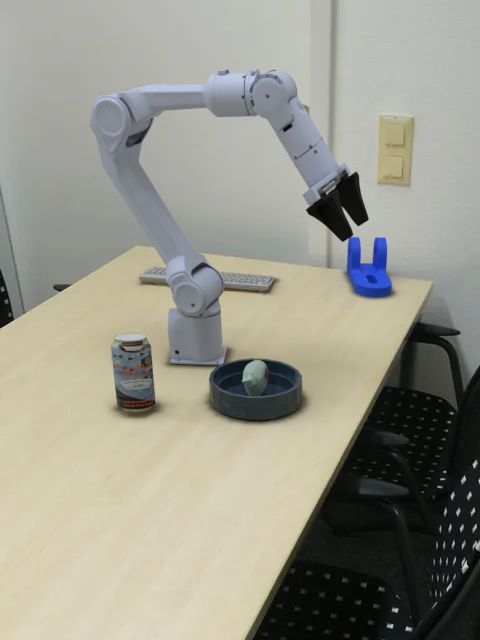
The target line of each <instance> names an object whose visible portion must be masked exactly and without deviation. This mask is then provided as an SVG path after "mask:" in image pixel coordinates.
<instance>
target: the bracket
mask: <svg viewBox="0 0 480 640" xmlns="http://www.w3.org/2000/svg"><path fill="white" fill-rule="evenodd" d="M373 241H374V242H373V249H372V263H371V262H370V263H368V262H362V263H361V259H362V258H361V257H362V247H361V246H362V245H361V238H360V237H359V236H352V237H350V238H349V239H347V254H346V255H347V257H346V274H347V276H348V279H349V281H350V283H351V286H352V287H353V290H354V292H355V293H356V294H357V295H359V296H362V297H366V298H386V297H388V296H390V295H391V294H392V281H391V280H390V277H389V275H388V273H387V266H388V265H387V263H388V243H387V238H386V237H375V238H374V240H373Z"/></svg>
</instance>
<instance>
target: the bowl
mask: <svg viewBox="0 0 480 640" xmlns="http://www.w3.org/2000/svg"><path fill="white" fill-rule="evenodd" d="M254 360H260V361H262V362H264V363H265V364H266V366H267V368H268V371H269V373H268V382H267V384H266V387H265V389H264V391H263V393H262V394H261V395H260V396H249V395H248V394H247V392H246V389H245V386H244V384H243V383H242V380H243V371H244V369H245V367H246V366H247V364H249V363H250V362H252V361H254ZM208 385H209V399H210V403H211V404H212V407H213V408H215V409H216V410H217V411H218V412H220V413H222V414H223V415H226V416H228V417H232V418H236V419H237V418H238V419H242V420H254V421H255V420H256V421H262V420H272V419H277V418H280V417H284V416H287V415H289V414H291V413H293V412H294V411H296V410H298V408H299V407H300V406H301V405H302V402H303V375H302V374H301V372H300V371H299V369H297V368H296V367H294V366H292V365H291V364H290V363H286V362H283V361H281V360H275V359H270V358H257V357H255V358H254V357H253V358H252V357H250V358H240V359H239V358H238V359H235V360H231V361H227V362H224V363H223V364H222V365H217V366H216V367H215V368H214V369H213V370H212V371H210V374H209V377H208Z"/></svg>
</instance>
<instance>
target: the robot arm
mask: <svg viewBox="0 0 480 640" xmlns="http://www.w3.org/2000/svg"><path fill="white" fill-rule="evenodd" d="M249 71H250V72H231V73H230V69H229V68H220V69H218V70H217V73H212V74H210V76H208V79H207V80H206V82H205V83H204V84H200V83H198V84H197V83H196V84H195V83H190V84H189V83H187V84H186V83H151V84H148V85H144V86H140V87H136V88H135V87H134V88H128V89H125V90H123V91H121V92H116V93H112V94H103V95H100V96H99V97H97V98H96V99H95V100H94V103H93V105H92V108H91V113H90V119H89V127H90V129H91V131H92V132H93V134H94V135H95V139H96V143H97V147H98V153H99V157H100V161H101V165H102V167H103V169H104V171H105V173H106V174H107V176H108V177H109V179H110V180H111V182H112V183H113V185H114V187H115V188H116V190H117V191H118V193H119V195H120V196H121V197H122V199H123V201H124V203H125V204H126V205H127V207H128V209H129V210H130V212H131V213H132V215H133V216H134V218H135V219H136V221H137V223H138V224H139V226H140V228H141V229H142V231H143V232H144V233H145V236H146V237H147V238H148V240H149V241H150V243H151V245H152V246H153V248H154V249H155V250H156V252H157V254H158V255H159V257H160V258H161V260H162V262H163V263H164V265H165V268H166V282H167V283H166V284H167V285H168V287H169V290H170V291H171V295H172V300H173V303H174V305H175V306H176V307H172V308H171V307H170V308H169V309H168V314H167V335H168V344H169V345H168V347H169V355H170V356H169V357H170V359H169V360H170V361H169V363H170V364H171V365H176V364H177V365H197V366H220V365H222V364H224V363H225V359H226V355H227V351H228V347H227V346H226V345H223V328H222V311H221V310H222V307H221V303H220V297H221V296H222V295H223V294H224V291H225V288H224V286H225V284H224V279H223V277H222V275H221V273H220V272H221V271H220V270H218V269H217V268H216V267H214V266H213V265H212V264H211V263H210V262H209V261H208V259H207V258H206V256H205V255H203V253H201V252H199V251H197V250H195V249H193V247H192V246H191V244H190V242H189V241H188V239H187V238H186V236H185V234H184V233H183V231H182V230H181V228H180V226H179V225H178V223H177V221H176V220H175V218H174V216H173V214H172V213H171V211H170V210H169V208H168V207H167V205H166V203H165V202H164V201H163V200H164V199H163V198H162V197H161V195H160V194H159V193H158V191H157V189H156V187H155V186H154V184H153V182H152V181H151V179H150V178H149V176H148V174H147V173H146V171H145V169H144V168H143V166H142V165H141V164H140V155H141V149H142V145H143V142H144V140H145V139H146V137H147V135H148V133H149V131H150V130H151V128H152V126H153V123H154V120H155V118H157V117H159V116H161V115H162V113H163V112H165V111H166V112H167V111H181V110H196V109H207V110H208V111H209V112H210V113H212V115H214V117H216V118H238V117H239V118H241V117H244V118H245V117H257V116H259V117H260V118H262V119H264V120H266V121H268V123H269V125H270V126H271V128H272V130H273V131H274V133H275V135H276V137H277V139H278V140H279V142H280V143H281V145H282V147H283V148H284V150H285V151H286V154H287V155H288V156H289V158H290V160H291V161H292V164H293V165H294V167H295V168H296V169H297V171H298V173H299V175H300V176H301V178H302V180H303V181H304V182H305V184H306V186H307V187H308V189H306V191H305V192H303V193H302V194H301V195H302V198H303V199H304V200H305V202H306V204H307V205H308V207H307V208H306V209H305V211H306V213H307V214H308V215H309V217H312V218H314V219H316V220H318V221H319V222H320V223H322V224H323V225H324V226H325V227H326V228H327V229H328V230H329V231H331V232H332V233H333V235H334V236H335V237H336V238H337V239H338V240H339V241H341V242H342V243H344V242H345V241H348V240H349V238H350V237H354V232H353V229H352V227H351V224H350V222H349V220H348V218H347V216H346V214H347V215H348V217H350V219H351V220H352V222H353V223H354V224H355V225H356V226H357V227H358V228H359V227H360V226H362V225H364V224H365V223H366V222H368V221H369V220H370V218H369V214H368V212H367V208H366V205H365V203H364V199H363V195H362V191H361V182H360V174H359V172H358V171H354V172H353V173H352V172H351V170H350V168H349V167H348V164H346V162H343V163H342V164H340V165H339V164H338V162H337V161H336V158H335V156H334V154H332V151H331V150H330V149H329V146H328V145H327V144H326V141H325V140H324V138H323V136H322V134H321V132H320V131H319V129H318V128H317V126H316V124H315V122H314V121H313V120H312V118H311V115H309V113H308V111H307V110H306V108H305V107H304V105H303V104H302V102H301V100H300V98H299V96H298V87H297V84H296V82H295V80H294V78H293V77H292V76H291V75H290V74H289V73H288V72H285V71H283V70H278V69H275V68H273V69H270V70H268V71H267V72H265V73H262V74H261V73H260V69H259V68H251V69H250V70H249ZM344 211H345V212H346V214H345V212H344Z"/></svg>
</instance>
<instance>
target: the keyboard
mask: <svg viewBox="0 0 480 640" xmlns="http://www.w3.org/2000/svg"><path fill="white" fill-rule="evenodd" d="M219 272H220V273H221V275H222V277H223V279H224V284H225V286H224V289H237V290H239V289H240V290H251V291H256V293H260V294H261V293H262V292H267V291H269V289H270V288H271V286H272V285H273V283H274V282H275V280H276V276H273V275H268V274H267V275H265V274H251V273H241V272H229V271H219ZM138 279H139V281H140V282H147V285H153V284H154V283H159V284H160V283H162V284H167V282H166V267H162V266H151V267H150V268H148V269H147V270H145V271H144V272H142V273H141V274H139V275H138Z"/></svg>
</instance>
